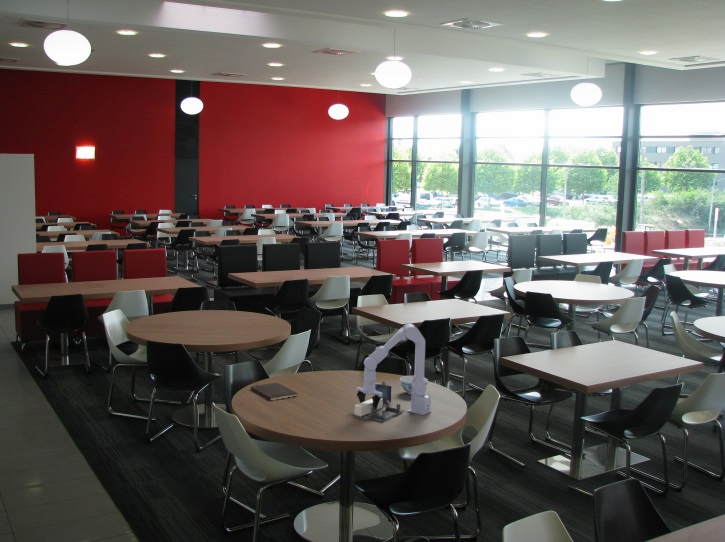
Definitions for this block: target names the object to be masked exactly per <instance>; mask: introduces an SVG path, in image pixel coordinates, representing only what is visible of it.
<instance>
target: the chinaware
mask: <svg viewBox="0 0 725 542" xmlns="http://www.w3.org/2000/svg"><path fill="white" fill-rule="evenodd" d="M413 379H414V375H404V376H400V378H399V382H400V385H401V387H402V389H403V390H404V391H405V392H406V394H407V393H408V394H407V395H409V394H411V392H412V391H413V388H412V386H411V384H412V381H413ZM424 379H425V386H426V387H427V385H428V382H429V381H428V379H427V378H426V377H424Z"/></svg>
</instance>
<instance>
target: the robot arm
mask: <svg viewBox="0 0 725 542" xmlns="http://www.w3.org/2000/svg"><path fill="white" fill-rule="evenodd" d="M407 339H408V340H409V341H412V342H413V343H414V345H415V349H414V373H413V376H414V379H413V381H412V384H411V386H412V388H413V391H412V392H411V395H410V408H409V409H407V410H406V411H407V412H408V413H413V414H416V415H421V416H425V415H427V414H428V413H431V412H432V410H431V409H432V407H431V405H432V399H431V396H429V395H427V385H426V386H425V379H424V378H425V360H426V359H425V358H426V339H425V337H424V336H423V334H422V333H421V331H420V330H419V328H418V327H417V326H415V325H414V324H413V323H411V322H410V323H409V322H408V323H406V324H404V325H403V327H400V328H399V329H398V330H397V332H395V333H394V334H393V335H392V337H390V339H388V341H387V342H385V344H384V345H380V346H376V347H375V350H374V351H373V352H372V353H371V354H368V357H366V358H364V361H363V365H364V369H363V370H364V371H363V387H361V386H358V387H356V388H355V392H356V396H357V398H358V400H359V403H362V402H364V401H366V396H367V394H368V395H371V399H372V400H373V407H375V410H376V411H378V410H377V406H378V403H379V401H380V399H381V398H382V396H383V393H382V392H379V391H377V390H375V383H376V375H377V374H376V368H377V367H378V364H380V363H381V362H382V361H383V360H384V359H385V358H386V357H387V356H388V355H389V351H390V350H391V349H392V348H393V347H394V346H396V345H397V344H398V343H399V342H400V341H406V340H407Z"/></svg>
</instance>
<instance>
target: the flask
mask: <svg viewBox="0 0 725 542" xmlns="http://www.w3.org/2000/svg"><path fill="white" fill-rule="evenodd" d="M385 381H386V380H382V381H381V383H380V382H375V390H377V391H379V392H382V393H383V396H382V399H383V401H385V402H384V403H386V401H390V403H391V402H392V384H390V383H386V382H385Z"/></svg>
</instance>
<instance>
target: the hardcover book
mask: <svg viewBox="0 0 725 542" xmlns="http://www.w3.org/2000/svg"><path fill="white" fill-rule="evenodd" d="M250 390H251V391H252V392H254V393H256V394H257V395H259V396H261V397H263V398H264V397H265V399H266V400H268V401H271V400H272V401H277V399H278V400H283V399H282V398H284V399H289V398H288V397H290V398H294V397H293V396H296V397H297V396H298V394H299V393H298V392H296V391H294V390H292V389H290V388H288V387H287V386H285V385H283V384H281V383H280V382H271V383H263V384H259V385H258V384H257V385H251V386H250Z"/></svg>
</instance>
